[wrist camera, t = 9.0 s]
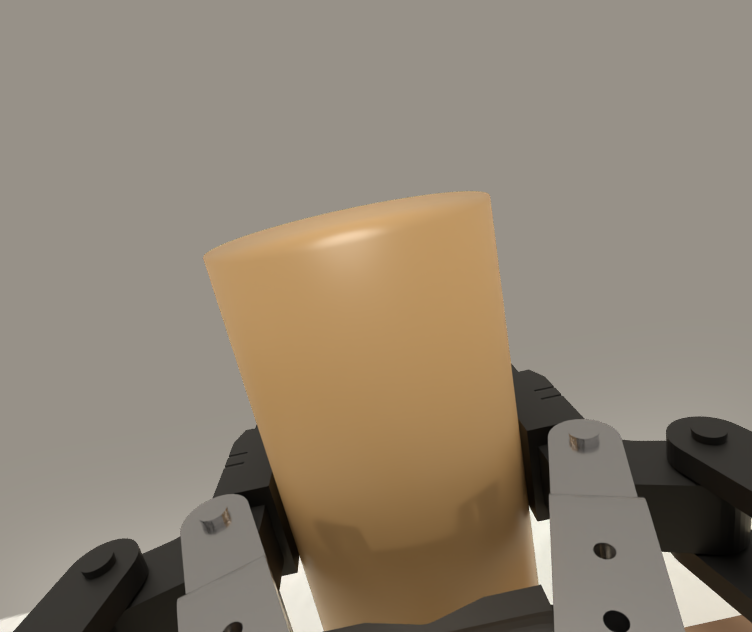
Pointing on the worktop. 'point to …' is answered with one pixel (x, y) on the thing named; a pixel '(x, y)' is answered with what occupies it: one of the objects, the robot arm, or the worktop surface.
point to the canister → (385, 402)
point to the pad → (723, 625)
